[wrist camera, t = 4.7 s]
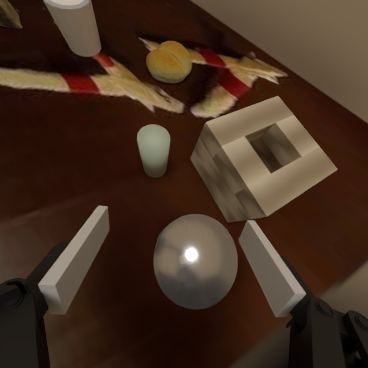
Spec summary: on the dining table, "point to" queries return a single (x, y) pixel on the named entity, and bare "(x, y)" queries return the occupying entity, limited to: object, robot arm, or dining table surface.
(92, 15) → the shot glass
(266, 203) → the beige hollow block
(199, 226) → the tall grey cylinder
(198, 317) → the dining table surface
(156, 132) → the short pin
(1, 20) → the rock
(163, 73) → the bread roll
